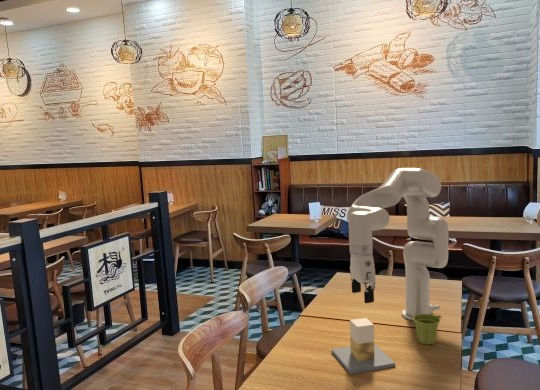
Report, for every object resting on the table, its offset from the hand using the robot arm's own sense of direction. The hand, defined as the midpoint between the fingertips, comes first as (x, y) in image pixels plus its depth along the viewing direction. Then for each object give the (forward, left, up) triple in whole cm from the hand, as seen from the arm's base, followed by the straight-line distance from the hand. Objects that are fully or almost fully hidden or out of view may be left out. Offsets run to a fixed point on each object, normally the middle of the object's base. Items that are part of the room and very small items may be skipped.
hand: (362, 297), depth 157 cm
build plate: (+1, 0, -22) cm, 22 cm away
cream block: (+1, 0, -15) cm, 15 cm away
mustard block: (+1, 0, -21) cm, 21 cm away
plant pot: (-27, -5, -22) cm, 35 cm away
